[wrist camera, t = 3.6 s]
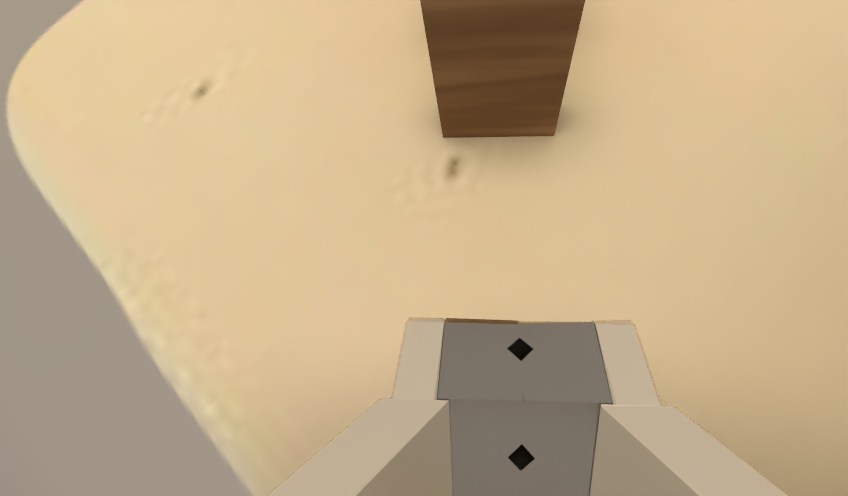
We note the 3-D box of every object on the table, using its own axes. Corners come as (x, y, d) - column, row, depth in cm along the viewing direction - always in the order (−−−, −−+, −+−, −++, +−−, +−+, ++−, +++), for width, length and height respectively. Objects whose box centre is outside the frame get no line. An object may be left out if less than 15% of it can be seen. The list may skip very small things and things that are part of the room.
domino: (554, 135, 29) (586, -6, 19) (443, 137, 29) (420, 0, 20) (553, 103, 29) (584, -52, 19) (444, 105, 30) (422, -45, 20)
